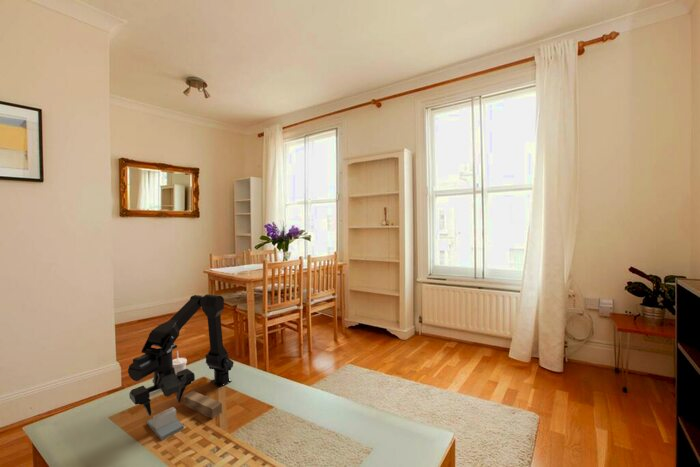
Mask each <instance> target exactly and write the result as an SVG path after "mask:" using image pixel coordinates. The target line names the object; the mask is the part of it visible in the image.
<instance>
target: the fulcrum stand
mask: <svg viewBox="0 0 700 467" xmlns="http://www.w3.org/2000/svg"><path fill="white" fill-rule="evenodd" d="M146 424H147V426H150V427H149V428H150V429H151V430H152V431H153V432H154V433H155V435H156V436H157V437H158V438H159V440H160V441H164V440H165V439H167V438H170V437H171V436H173V435H175V434H176V433H179V432H181V431H182V430H185V426H184V425H183V423H182V422H181V421H179V419H177V409H176V408H175V407H174V406H172V407H170V408H167V409H165V410H163V411H161V412H159V413H157V414H154V415H152V418H150V419H148V420H146Z"/></svg>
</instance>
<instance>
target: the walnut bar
mask: <svg viewBox="0 0 700 467" xmlns="http://www.w3.org/2000/svg"><path fill="white" fill-rule="evenodd" d="M222 403H223V402H221V401H218V400H216V399H214V398H211V397H208V396H206V395H204V394H201V393H199V392H197V391H194V390H191V391H190V392H188V393H186V394H184V395H183V406H184V407H187V408H189V409H191V410H193V411H195V412H198V413H199V414H202V415H204V416H206V417H207V418H209V419H215V418H216V417H217V416H219V415H220V414H222V412H223V404H222Z"/></svg>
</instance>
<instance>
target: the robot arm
mask: <svg viewBox="0 0 700 467" xmlns="http://www.w3.org/2000/svg"><path fill="white" fill-rule="evenodd" d="M200 308H201V310H202V311H203V313H204V315H206V317H207V318H206V319H207V329H208V336H209V338H208V339H209V351H208V353H206V354H205V356H204V357H205V364H206V365H207V366H208V367H209V368H208V369H210V370H213V376H214V377H213V379H211V380H210V383H212V385H214V386H216V387H218V388H220V387H222V386H224V385H223V384H225V385H227V384H228V382H229V378H230V376H229V375H230V373H229V372H230V371H231V370H232V368H233V367H234V362H235V361H233V360H232V359H230V357H229V352H228V350H226V348H225V347H224V343H223V329H222V319H221V316H222V315H221V314H222V312H223V311H224V308H225V299H224V296H222V295H218V294H210V293H206V294H204V295H199V294H194V295H192V296H190V298H189V300H187V302H186V303H185V304H184V305H183V306H182V307H181V308H179V310H178V311H177V312H176V313H175V314H174V315H172V317H171V318H170V319H169V320H167V321H166V322H163V323H161V324H158V325H157V326H156V327H155V328H153V329H152V330H151V331H150V332H149V333H148V337H147V339H146V341H145V343H144V345H143V347H142V349H141V352H140V353H142V355H140V356H136V357H135V358H133V359H132V363H131V364H129V366H128V369H127V374H128V376H129V377H130V379H131V380H132V381H134V382H139V381H141V380H143V379H144V378H146V377H147V376H150V375H151V374H152V373H153V374H152V375H153V379H152V383H153V385H152V386H149V387H146V386H145V385H141V386H138V387H135V388H132V389H131V390H130V392H129V393H128V394H129V399H130V400H131V402H132V403H133V404H134V405H136V406H137V405H140V406H143V407H144V409H145V411H146V413H147V415H148V416H149V417H150V416H152V408H151V399H150V397H151V396H150V394H152V393H155V392H158V391H161V392H162V394H163V396H164V397H170V396H172V395H174V394H176V400H177V401H176V402H177V403H180V402H181V400H182V399H183V396H184V393H185V390H186V388H187V387H188V386H189V385H191V384H192V382H194V381H195V380H196V379H195V378H196V376H195V372H193V371H192V370H190V369H189V368H185V369H184V370H182V371H179V372H177V375H176V374H175V370H174V368H173V360H174V359H173V350H175V349H176V348H178V345H177V344H175V342H176V340H177V339H178V338H179V336H180V331H181V330H182V328H183V327H184V326H185V325H186V324H187V322H189V321H190V320H191V319H192V317H194V315H195V314H196V313H197V312H198V311H199V310H200ZM152 346H153V347H152ZM157 347H159V348H157ZM226 383H227V384H226ZM229 383H230V382H229Z"/></svg>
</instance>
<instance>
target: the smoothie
mask: <svg viewBox="0 0 700 467" xmlns="http://www.w3.org/2000/svg"><path fill="white" fill-rule="evenodd" d="M187 363H188V360H187V358H186V357H179V350H176V358H174V359H173V368H174V370H175V374H176V375H177V372H179V371H182V370H184V369H187V367H186V366H187Z"/></svg>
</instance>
